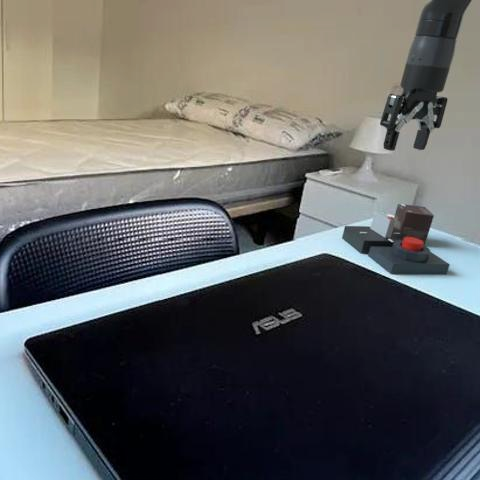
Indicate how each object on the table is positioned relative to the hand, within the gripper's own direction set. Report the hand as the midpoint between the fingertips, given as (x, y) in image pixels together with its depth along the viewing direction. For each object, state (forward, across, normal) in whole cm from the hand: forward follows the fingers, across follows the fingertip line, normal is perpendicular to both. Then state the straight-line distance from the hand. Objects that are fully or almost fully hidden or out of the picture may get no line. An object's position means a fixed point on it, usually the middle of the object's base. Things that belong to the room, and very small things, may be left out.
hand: (403, 149), depth 99 cm
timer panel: (+21, -1, 0) cm, 21 cm away
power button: (+17, -2, -9) cm, 20 cm away
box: (+21, +10, 0) cm, 23 cm away
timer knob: (+18, -1, 0) cm, 18 cm away
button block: (+21, -2, -9) cm, 23 cm away
